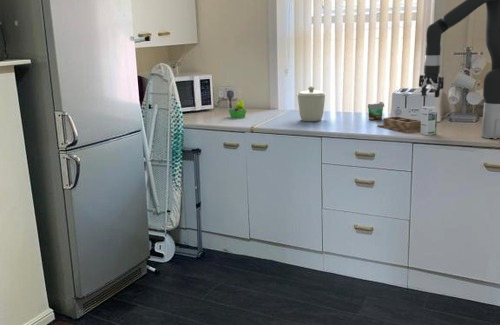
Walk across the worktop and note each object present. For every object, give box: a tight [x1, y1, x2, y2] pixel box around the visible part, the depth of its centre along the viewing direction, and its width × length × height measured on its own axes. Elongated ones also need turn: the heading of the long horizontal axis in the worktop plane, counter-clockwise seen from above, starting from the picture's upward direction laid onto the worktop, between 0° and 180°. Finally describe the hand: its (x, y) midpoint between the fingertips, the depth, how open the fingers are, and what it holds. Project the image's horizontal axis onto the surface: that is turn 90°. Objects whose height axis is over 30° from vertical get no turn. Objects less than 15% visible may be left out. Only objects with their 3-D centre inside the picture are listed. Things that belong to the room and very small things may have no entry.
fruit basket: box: [228, 99, 247, 120], centre depth 335 cm, size 11×9×11 cm
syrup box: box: [420, 105, 438, 136], centre depth 263 cm, size 6×6×14 cm
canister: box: [296, 86, 327, 122], centre depth 312 cm, size 18×18×21 cm
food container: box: [367, 101, 385, 121], centre depth 308 cm, size 12×6×10 cm, turn 129°
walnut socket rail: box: [377, 115, 421, 134], centre depth 281 cm, size 24×14×5 cm, turn 27°
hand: (430, 96), depth 260 cm, fingers open, 8 cm apart
